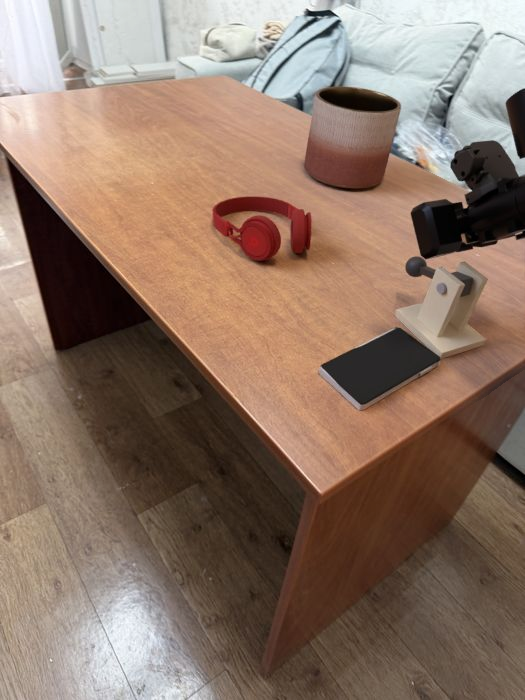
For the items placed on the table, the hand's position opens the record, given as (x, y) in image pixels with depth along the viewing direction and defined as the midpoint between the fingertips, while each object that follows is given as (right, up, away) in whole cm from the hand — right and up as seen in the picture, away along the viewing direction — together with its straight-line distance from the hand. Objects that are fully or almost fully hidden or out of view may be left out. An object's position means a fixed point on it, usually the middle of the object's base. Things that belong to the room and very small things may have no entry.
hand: (433, 240), depth 67 cm
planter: (-5, +24, +42) cm, 49 cm away
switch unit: (+2, -12, +3) cm, 13 cm away
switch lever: (+1, -6, +2) cm, 6 cm away
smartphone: (-8, -18, -4) cm, 20 cm away
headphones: (-24, +5, +19) cm, 31 cm away
